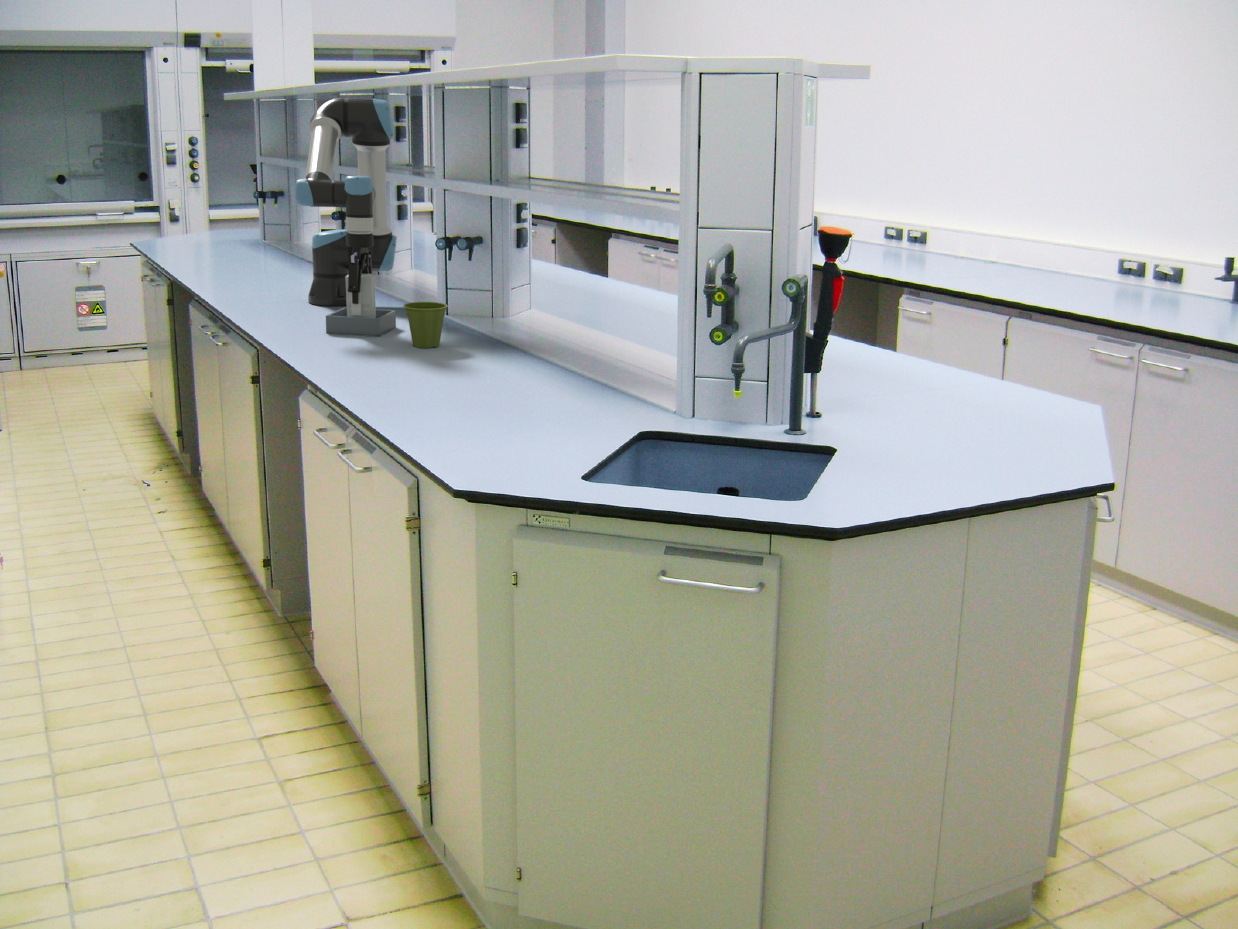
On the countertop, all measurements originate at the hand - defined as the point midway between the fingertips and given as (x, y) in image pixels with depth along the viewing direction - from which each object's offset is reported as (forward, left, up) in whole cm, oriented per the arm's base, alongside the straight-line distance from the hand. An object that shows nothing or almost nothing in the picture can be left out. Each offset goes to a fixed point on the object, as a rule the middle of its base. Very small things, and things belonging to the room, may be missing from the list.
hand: (361, 312), depth 337 cm
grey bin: (0, 0, -5) cm, 5 cm away
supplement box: (0, 0, -2) cm, 2 cm away
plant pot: (+17, +24, -5) cm, 30 cm away
